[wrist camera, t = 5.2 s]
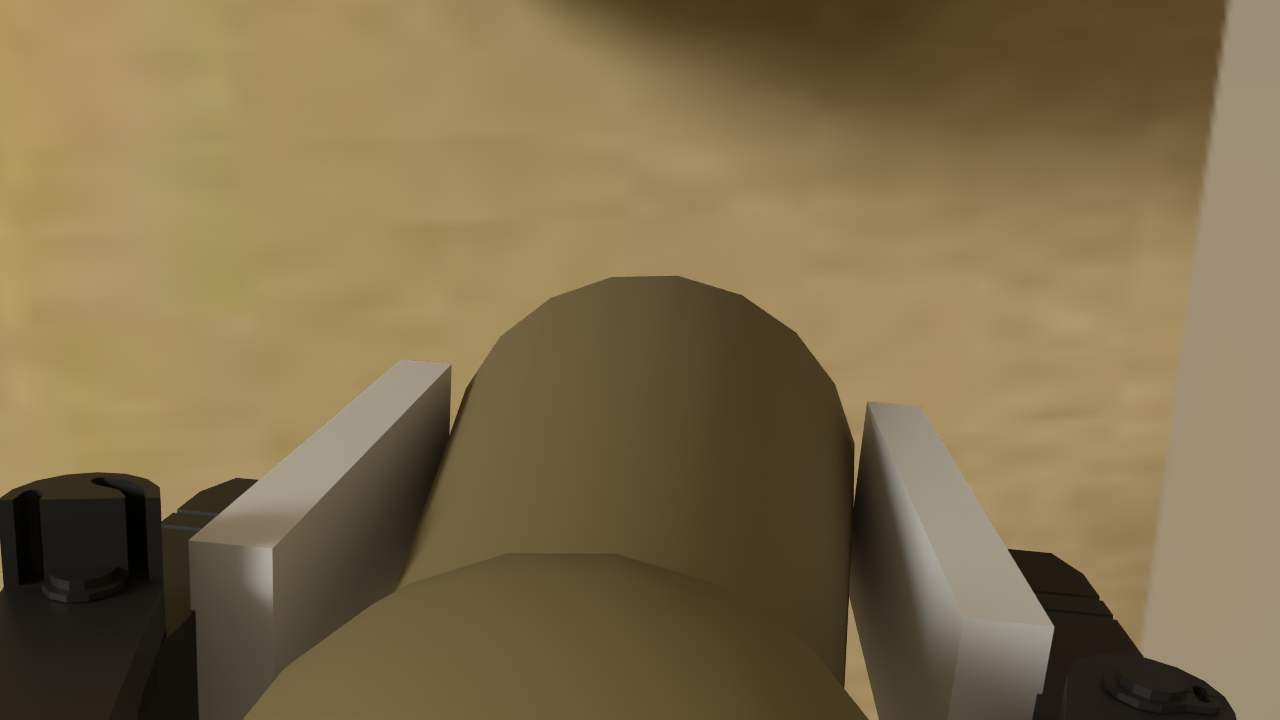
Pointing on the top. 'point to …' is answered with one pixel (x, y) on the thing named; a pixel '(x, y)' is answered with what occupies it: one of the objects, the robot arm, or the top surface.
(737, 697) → the cork
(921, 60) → the top surface
